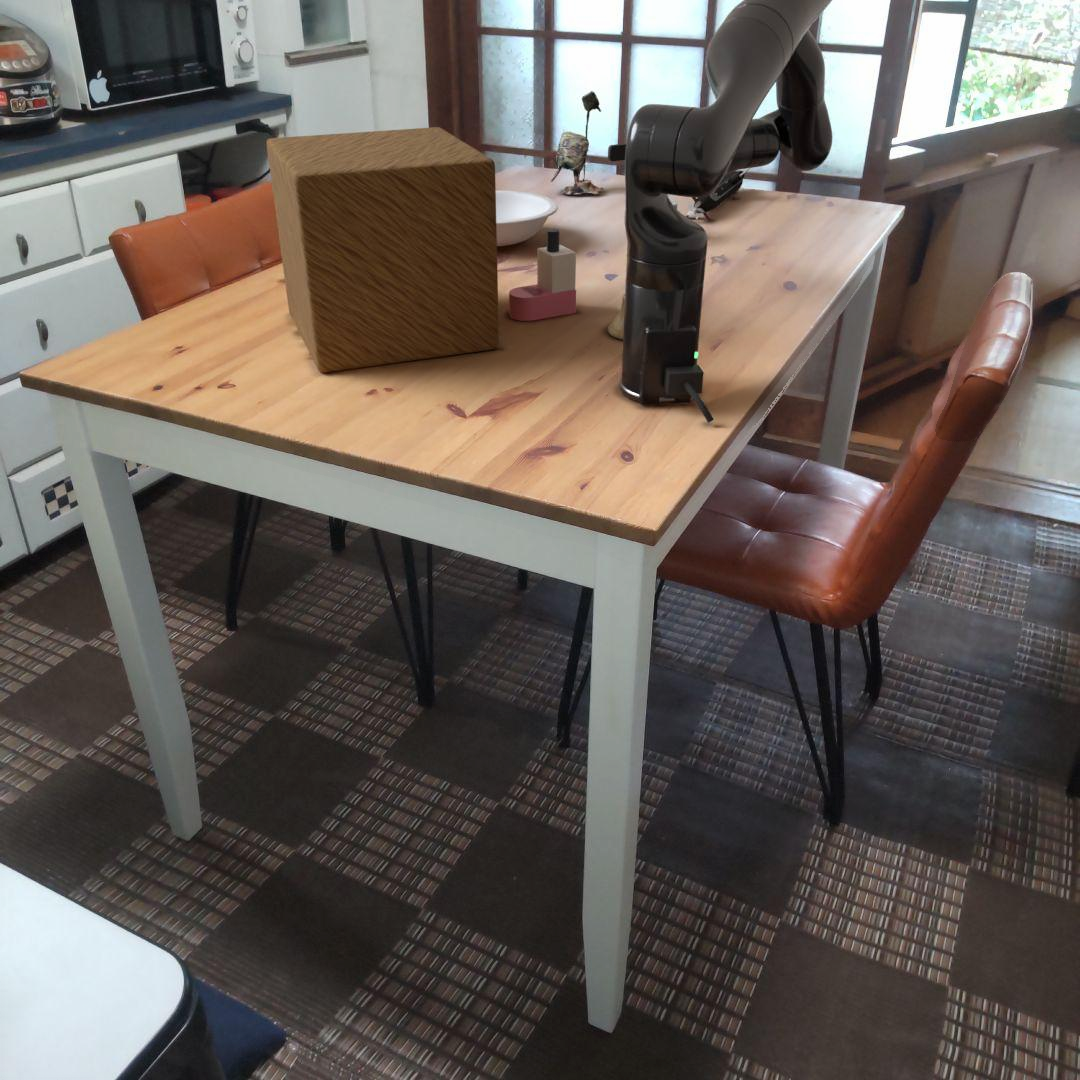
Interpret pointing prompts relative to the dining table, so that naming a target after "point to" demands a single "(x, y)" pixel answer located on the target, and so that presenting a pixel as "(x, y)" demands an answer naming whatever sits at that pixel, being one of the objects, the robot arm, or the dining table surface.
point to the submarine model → (717, 194)
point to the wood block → (387, 245)
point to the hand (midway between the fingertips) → (624, 159)
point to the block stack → (547, 284)
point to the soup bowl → (520, 215)
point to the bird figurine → (577, 152)
